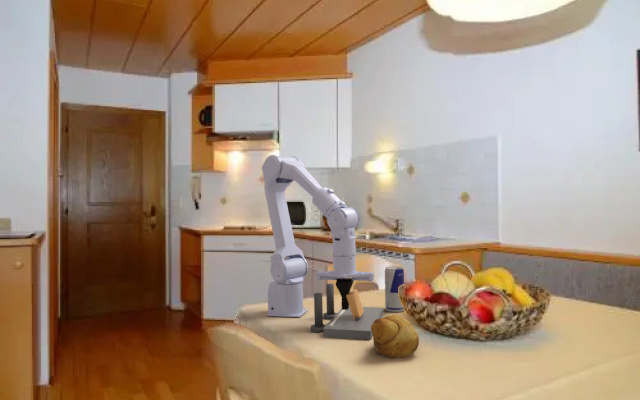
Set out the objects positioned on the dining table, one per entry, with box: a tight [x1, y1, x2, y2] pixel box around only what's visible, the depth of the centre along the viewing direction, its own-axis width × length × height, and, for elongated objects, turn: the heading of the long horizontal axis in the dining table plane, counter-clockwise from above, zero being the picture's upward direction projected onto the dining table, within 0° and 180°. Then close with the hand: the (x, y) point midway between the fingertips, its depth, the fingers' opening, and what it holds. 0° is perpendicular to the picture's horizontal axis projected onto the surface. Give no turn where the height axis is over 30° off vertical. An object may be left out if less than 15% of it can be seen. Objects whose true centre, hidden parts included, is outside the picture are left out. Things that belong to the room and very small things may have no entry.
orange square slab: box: [346, 288, 364, 320], centre depth 120 cm, size 2×6×6 cm, turn 165°
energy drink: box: [384, 265, 405, 313], centre depth 134 cm, size 5×5×12 cm
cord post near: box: [310, 292, 327, 334], centre depth 116 cm, size 4×4×9 cm
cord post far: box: [323, 283, 338, 321], centre depth 128 cm, size 4×4×9 cm
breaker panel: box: [323, 306, 384, 341], centre depth 120 cm, size 11×22×2 cm, turn 165°
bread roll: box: [371, 314, 420, 358], centre depth 101 cm, size 13×10×8 cm
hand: (345, 308), depth 121 cm, fingers closed
